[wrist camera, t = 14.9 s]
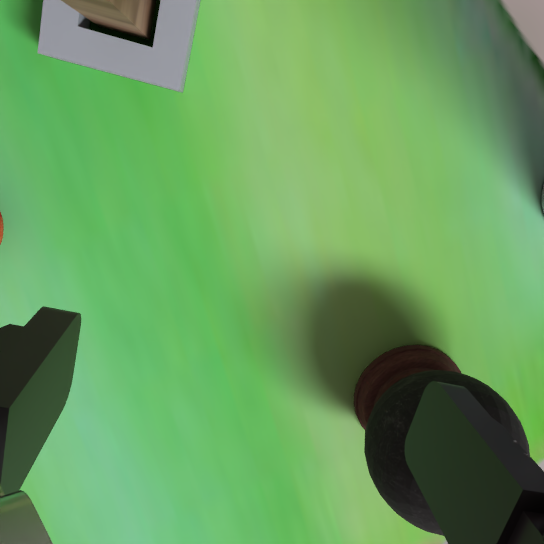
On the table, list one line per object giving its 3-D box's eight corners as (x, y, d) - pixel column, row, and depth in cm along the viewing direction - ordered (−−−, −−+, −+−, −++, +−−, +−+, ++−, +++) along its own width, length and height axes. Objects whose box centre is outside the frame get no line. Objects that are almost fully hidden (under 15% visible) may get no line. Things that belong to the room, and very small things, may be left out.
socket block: (69, -93, 34) (55, -111, 32) (209, -48, 36) (208, -62, 33) (51, 57, 37) (37, 53, 34) (182, 92, 39) (179, 91, 36)
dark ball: (378, 469, 52) (436, 603, 38) (321, 378, 48) (361, 489, 34) (489, 410, 51) (591, 525, 37) (440, 311, 47) (534, 398, 33)
